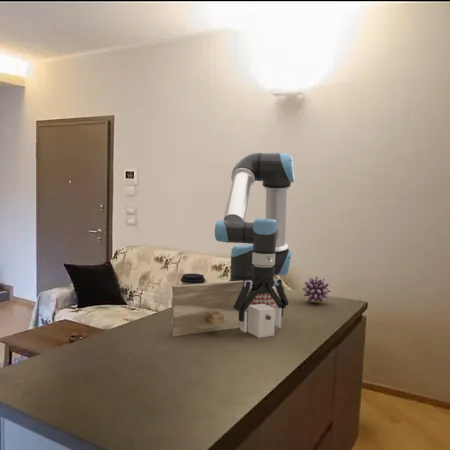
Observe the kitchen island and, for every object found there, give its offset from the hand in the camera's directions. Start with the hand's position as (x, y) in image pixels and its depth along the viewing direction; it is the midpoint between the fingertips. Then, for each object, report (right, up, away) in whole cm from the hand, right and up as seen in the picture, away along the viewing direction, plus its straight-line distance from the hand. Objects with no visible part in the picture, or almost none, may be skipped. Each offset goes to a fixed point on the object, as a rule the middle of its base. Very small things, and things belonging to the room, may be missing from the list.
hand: (260, 328), depth 152 cm
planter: (+1, 0, +20) cm, 20 cm away
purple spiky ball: (+27, +1, +44) cm, 52 cm away
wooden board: (-16, -1, -2) cm, 16 cm away
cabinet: (0, -2, 0) cm, 2 cm away
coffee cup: (-24, +1, +20) cm, 31 cm away
